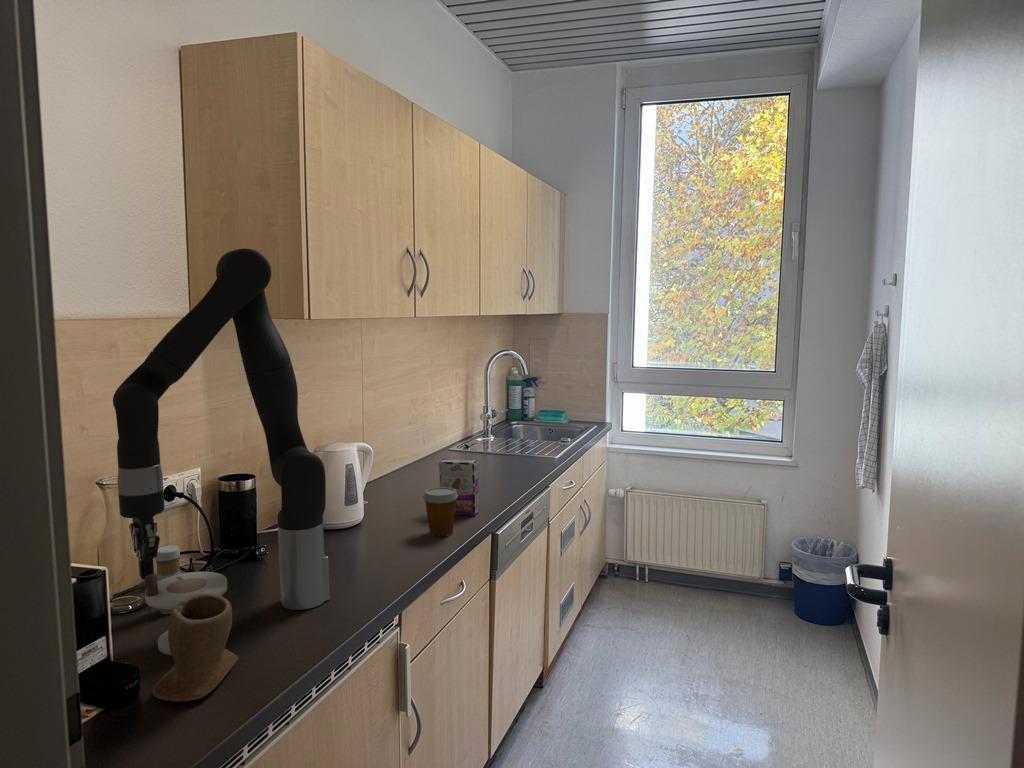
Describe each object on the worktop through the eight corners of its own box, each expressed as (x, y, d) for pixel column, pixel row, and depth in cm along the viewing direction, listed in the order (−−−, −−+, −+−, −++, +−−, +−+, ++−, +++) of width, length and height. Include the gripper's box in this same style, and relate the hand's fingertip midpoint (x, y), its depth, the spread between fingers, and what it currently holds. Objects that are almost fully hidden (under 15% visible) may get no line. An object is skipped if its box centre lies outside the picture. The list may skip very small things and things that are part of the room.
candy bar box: (479, 512, 216) (479, 459, 214) (475, 516, 211) (474, 463, 209) (445, 509, 219) (444, 457, 217) (439, 514, 214) (438, 461, 212)
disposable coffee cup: (450, 540, 190) (449, 497, 189) (418, 537, 193) (417, 494, 192) (463, 529, 199) (463, 488, 198) (433, 526, 202) (432, 485, 201)
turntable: (213, 573, 143) (212, 549, 142) (237, 594, 132) (236, 569, 132) (137, 591, 134) (135, 566, 134) (156, 616, 123) (154, 588, 123)
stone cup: (213, 710, 112) (208, 619, 110) (142, 706, 113) (136, 616, 111) (257, 661, 127) (253, 581, 125) (194, 659, 128) (189, 579, 126)
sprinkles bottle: (177, 603, 151) (174, 543, 150) (186, 610, 148) (182, 548, 146) (155, 610, 148) (151, 548, 146) (164, 617, 145) (159, 553, 143)
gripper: (172, 492, 130) (177, 582, 132) (153, 478, 140) (159, 563, 142) (126, 499, 125) (133, 593, 127) (111, 485, 135) (117, 572, 137)
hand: (146, 577), depth 134 cm, fingers closed
